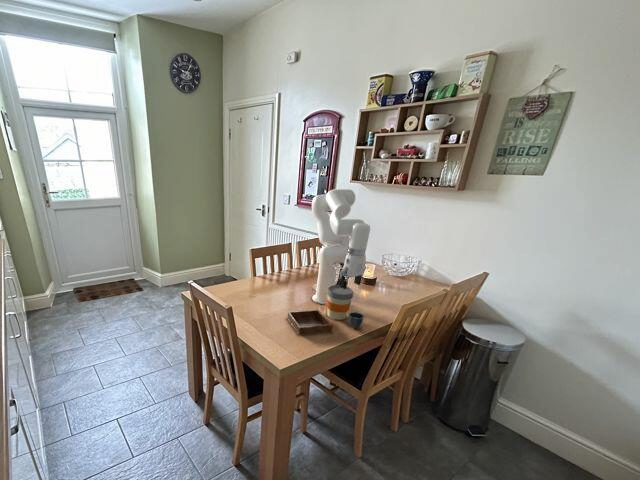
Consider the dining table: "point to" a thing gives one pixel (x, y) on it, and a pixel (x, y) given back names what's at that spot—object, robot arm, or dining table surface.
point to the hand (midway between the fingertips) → (350, 286)
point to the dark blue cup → (355, 320)
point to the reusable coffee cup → (338, 301)
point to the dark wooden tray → (309, 322)
